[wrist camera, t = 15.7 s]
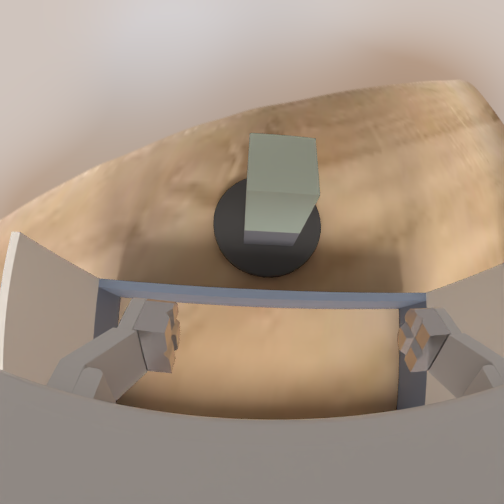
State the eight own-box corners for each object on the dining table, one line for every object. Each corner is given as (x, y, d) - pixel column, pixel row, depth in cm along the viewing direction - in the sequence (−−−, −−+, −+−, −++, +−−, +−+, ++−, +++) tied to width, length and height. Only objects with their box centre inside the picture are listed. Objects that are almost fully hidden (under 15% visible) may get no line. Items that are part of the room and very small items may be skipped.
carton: (114, 289, 24) (11, 232, 11) (404, 301, 25) (519, 258, 11) (109, 438, 20) (11, 497, 7) (398, 443, 21) (504, 491, 8)
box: (245, 199, 26) (249, 132, 18) (292, 201, 26) (315, 138, 18) (243, 243, 25) (246, 190, 16) (292, 246, 25) (319, 195, 16)
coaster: (269, 163, 28) (270, 158, 27) (338, 231, 27) (341, 227, 26) (193, 220, 26) (191, 216, 25) (263, 299, 24) (264, 298, 24)
